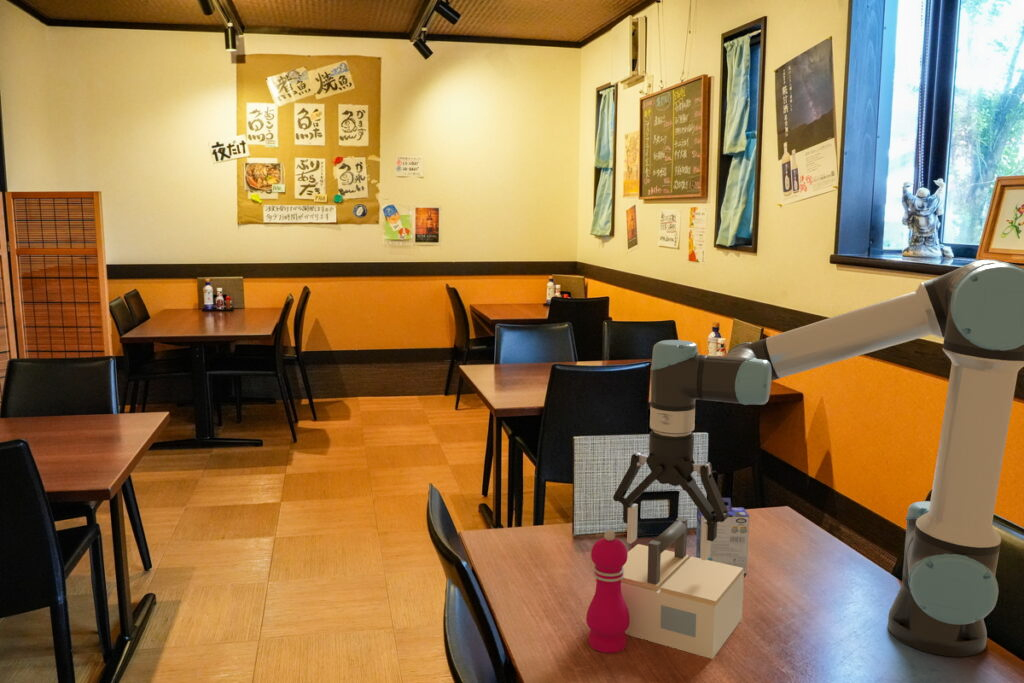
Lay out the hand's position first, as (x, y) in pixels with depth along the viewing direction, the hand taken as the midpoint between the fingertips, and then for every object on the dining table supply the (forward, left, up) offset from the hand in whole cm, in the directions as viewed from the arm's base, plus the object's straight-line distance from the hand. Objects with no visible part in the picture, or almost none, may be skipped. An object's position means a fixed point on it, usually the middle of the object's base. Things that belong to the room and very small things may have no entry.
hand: (667, 549), depth 148 cm
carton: (-1, 0, -14) cm, 14 cm away
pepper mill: (+5, +13, -14) cm, 19 cm away
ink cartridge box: (-1, -27, -14) cm, 30 cm away
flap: (+4, 0, -4) cm, 6 cm away
